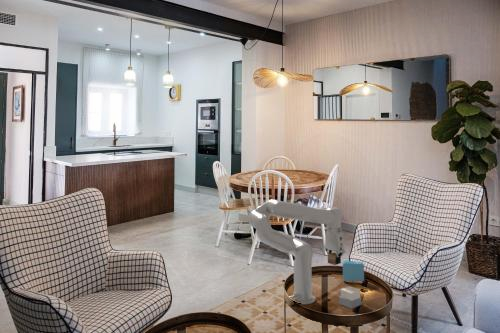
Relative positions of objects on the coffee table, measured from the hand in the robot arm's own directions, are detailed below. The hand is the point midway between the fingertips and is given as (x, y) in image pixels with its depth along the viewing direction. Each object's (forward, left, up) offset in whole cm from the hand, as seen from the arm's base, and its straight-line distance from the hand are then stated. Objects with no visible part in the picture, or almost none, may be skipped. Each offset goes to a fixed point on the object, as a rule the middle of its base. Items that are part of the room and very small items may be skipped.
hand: (334, 262), depth 206 cm
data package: (+21, +4, -18) cm, 28 cm away
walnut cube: (0, 0, -1) cm, 1 cm away
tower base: (-5, -14, -18) cm, 23 cm away
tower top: (-4, -14, -14) cm, 20 cm away
